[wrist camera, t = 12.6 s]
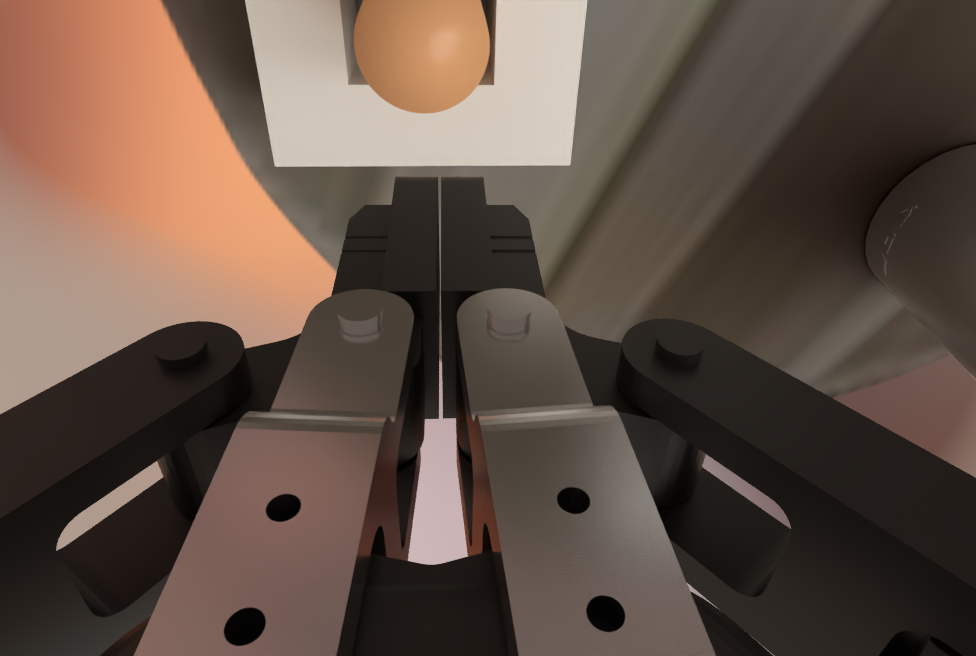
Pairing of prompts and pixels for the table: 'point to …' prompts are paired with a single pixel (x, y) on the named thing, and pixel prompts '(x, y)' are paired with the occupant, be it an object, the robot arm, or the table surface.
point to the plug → (422, 51)
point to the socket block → (407, 135)
